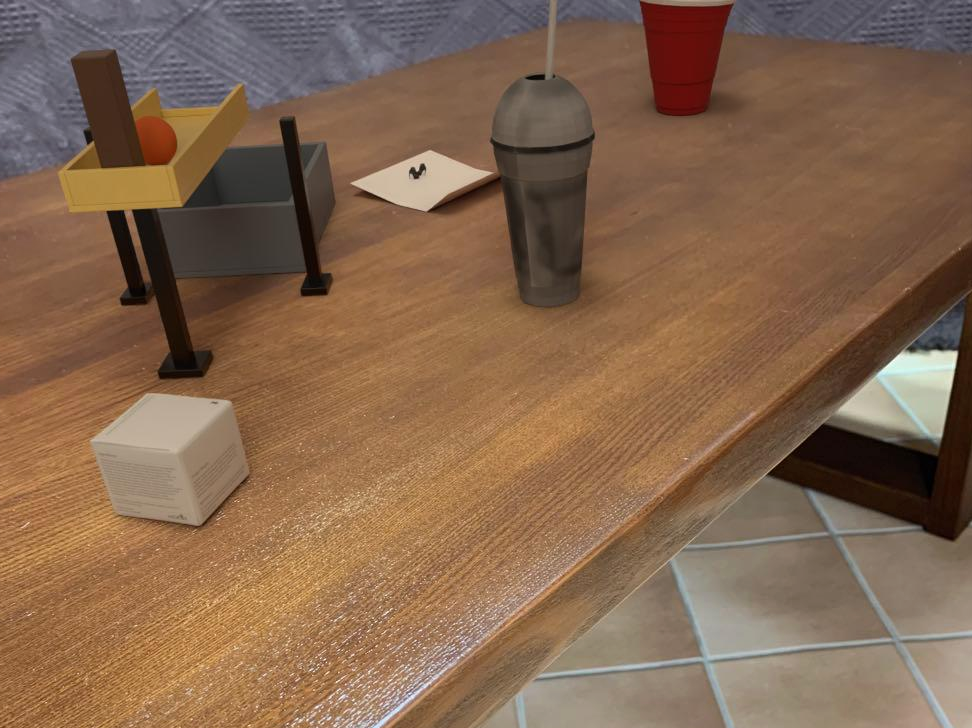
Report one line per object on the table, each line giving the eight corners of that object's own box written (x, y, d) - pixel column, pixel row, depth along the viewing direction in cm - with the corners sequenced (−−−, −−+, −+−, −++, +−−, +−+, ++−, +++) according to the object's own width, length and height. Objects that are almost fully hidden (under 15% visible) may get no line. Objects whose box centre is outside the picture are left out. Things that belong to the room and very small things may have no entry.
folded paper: (431, 161, 110) (429, 141, 109) (527, 178, 104) (526, 157, 103) (349, 196, 102) (346, 175, 101) (448, 216, 96) (446, 194, 95)
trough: (182, 207, 64) (145, 56, 59) (69, 213, 64) (23, 62, 59) (250, 117, 80) (225, -8, 75) (159, 121, 81) (129, -2, 76)
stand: (299, 372, 72) (261, 181, 65) (63, 384, 73) (-2, 195, 65) (332, 279, 85) (304, 111, 78) (132, 290, 86) (84, 123, 78)
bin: (306, 272, 87) (294, 204, 84) (168, 279, 87) (151, 212, 84) (335, 201, 101) (326, 141, 98) (216, 207, 101) (203, 147, 98)
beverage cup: (487, 287, 83) (464, -1, 71) (573, 268, 85) (565, -13, 73) (523, 322, 77) (505, 17, 65) (614, 301, 79) (612, 2, 68)
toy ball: (128, 163, 71) (111, 121, 68) (166, 143, 72) (151, 101, 69) (153, 180, 69) (138, 137, 67) (192, 160, 70) (178, 117, 68)
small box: (167, 462, 64) (146, 388, 61) (253, 474, 62) (235, 398, 59) (110, 516, 59) (84, 439, 56) (201, 530, 58) (179, 451, 55)
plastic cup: (752, 108, 120) (760, -11, 113) (677, 127, 115) (680, 4, 108) (688, 91, 127) (692, -22, 120) (615, 108, 123) (615, -9, 116)
